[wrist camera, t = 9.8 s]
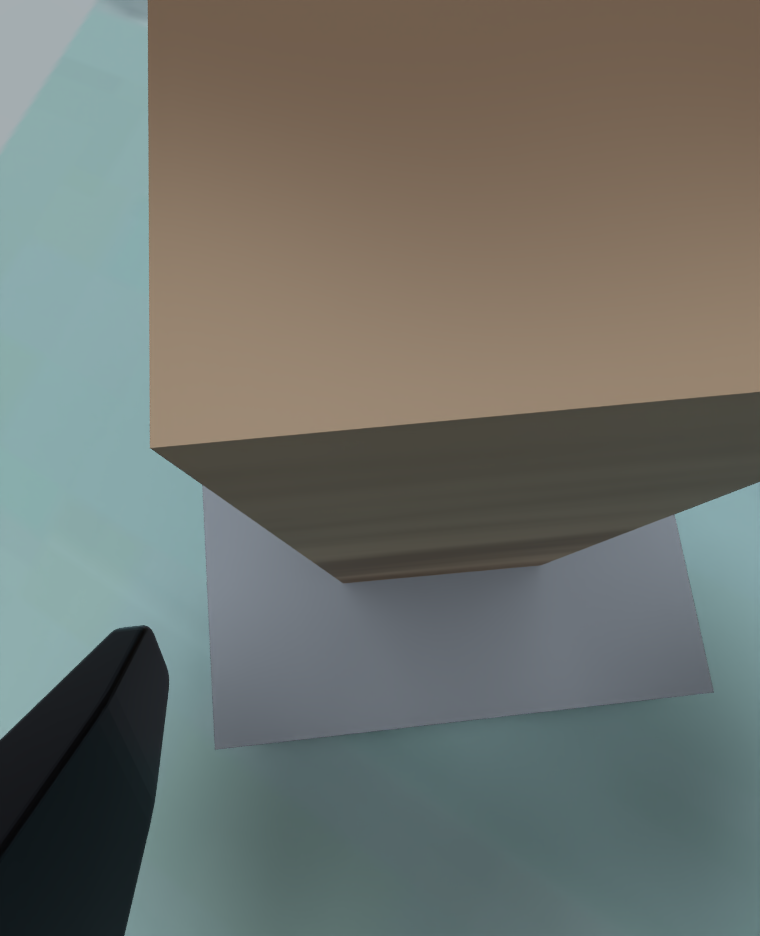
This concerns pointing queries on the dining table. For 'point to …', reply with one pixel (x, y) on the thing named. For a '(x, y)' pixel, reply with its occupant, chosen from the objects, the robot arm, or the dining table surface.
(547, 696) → the grey base block
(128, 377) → the dining table surface
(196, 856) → the dining table surface
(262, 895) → the dining table surface
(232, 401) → the walnut pillar
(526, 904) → the dining table surface
